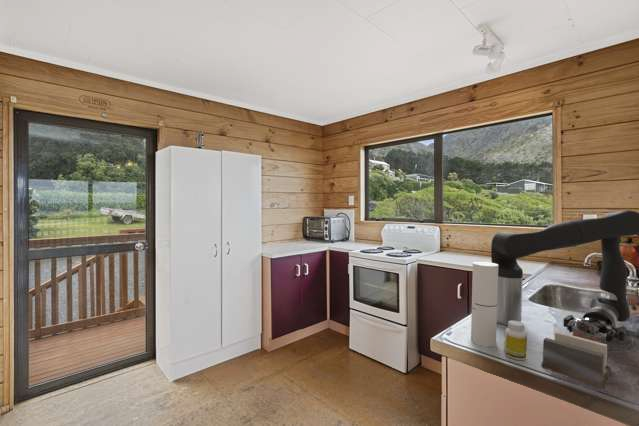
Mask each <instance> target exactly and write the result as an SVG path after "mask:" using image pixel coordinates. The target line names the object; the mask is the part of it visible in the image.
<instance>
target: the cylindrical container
mask: <svg viewBox="0 0 639 426" xmlns="http://www.w3.org/2000/svg"><path fill="white" fill-rule="evenodd" d="M471 285H472V286H471V287H472V288H471V324H470V325H471V326H470V327H471V329H470V341H471V342H472V343H473V344H475V345H478V346H480V347H485V348H490V347H491V348H493V347H495V346H497V327H498V323H497V295H498V264H496V263H492V261H473V262H472V282H471Z"/></svg>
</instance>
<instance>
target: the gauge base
mask: <svg viewBox="0 0 639 426" xmlns="http://www.w3.org/2000/svg"><path fill="white" fill-rule="evenodd" d="M542 345H543V346H542V349H543V350H542V362H541V367H542V368H544V369H547V370H550V371H552V372H556V373H558V374H562V375H565V376H568V377H571V378H574V379H576V380H579V381H581V382H584V383H587V384H590V385H593V386H596V387H599V388H603V386H604V384H605V383H606V380H607V378H608V377H609V375H610V373H611V370H612V367H610V366H609V369H606V368H605V369H604V368H603V360H604V354H602V353H599V352H595V351H591V350H588V349H584V348H581V347H577V346H574V345H570V344H567V343H563V342H560V341H556V340H555V339H552V338H548V337H545V338H544V339H543V344H542Z"/></svg>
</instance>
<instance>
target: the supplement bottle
mask: <svg viewBox="0 0 639 426" xmlns="http://www.w3.org/2000/svg"><path fill="white" fill-rule="evenodd" d="M527 343H528V334H527V332H526V331H525V323H524V322H523V321H521V322H519V321H513V320H511V321H508V325H507V328H505V330H504V355H505V356H506V357H508V358H509V359H512V360H514V361H515V360H516V361H524V360H526V359H527V346H528V344H527Z"/></svg>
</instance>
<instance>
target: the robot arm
mask: <svg viewBox="0 0 639 426" xmlns="http://www.w3.org/2000/svg"><path fill="white" fill-rule="evenodd" d="M636 235H639V212H638V211H634V210H620V211H619V210H617V211H611V212H607V213H605V214H604V215H603V216H601V217H598V218H584V219H583V218H581V219H573V220H567V221H561V222H557V223H552V224H550V225H548V226H547V227H545V228H543V229H541V230H538V231H532V232H531V231H530V232H523V233H520V232H519V233H517V232H511V231H499V232H497V233H496V234H494V236H493V237H492V241H491V244H490V245H491V246H490V248H491V249H490V250H491V251H490V253H491V254H490V255H491V257H490V258H491V260H490V262H491V263H496V264H498V295H497V324H500V325H505V326H508V321H511V320H513V321H519V322H522V307H523V281H524V280H523V278H524V277H523V275H524V274H523V273H524V272H523V271H524V270H523V268H522V267H521V266H520V265H519V263H518V261H517V259H521V258H525V257H528V256H531V255H534V254H538V253H541V252H547V251H553V250H560V249H566V248H572V247H577V246H581V245H585V244H590V243H594V242H598V241H600V243H601V271H600V278H599V279H600V281H599V289H600V290H601V291H603V292H607V293H608V294H612V295H614V296H615V297H616V300H615V299H610V298H608V297H607V298H606V297H600V296H598V297H594V298H592V299H591V301H590V309H588V310H587V312H585V314H584V315H583V316H582V317H579V318H575V317H574V315H572V314H568V315H567V316H565V317H564V318H563V327H564V328H566V330H567V331H568V332H569V333H573V329H572V326H577V320H581V321H583V322H589V323H590V324H592V325H594V326H596V327H598V328H599V332H595V333H597V334H599V335H601V336H602V337H604V338H605V341H606V343H610V342H614V341H615V340H616V339H617V340H619V341H620V342H625V339H626V332H627V330H626V328H627V327H625V326H619V327H616V326H617V322H620V323H624V322H627V321H628V320H629V319H630V315H631V311H630V306H629V303H628V299H627V293H626V292H627V283H628V282H627V281H628V267H627V265H626V262H625V260H624V258H623V255H622V252H621V245H620V244H621V243H620V242H621V239H622V237H630V236H631V237H632V236H636Z"/></svg>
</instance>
